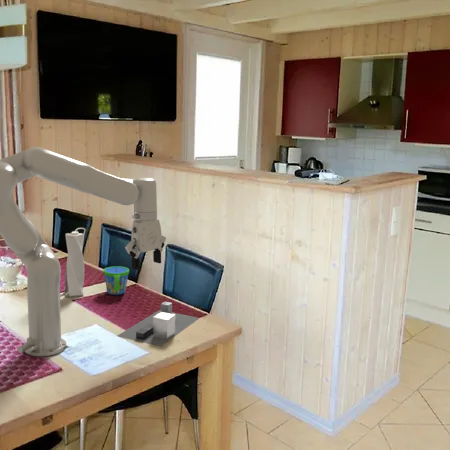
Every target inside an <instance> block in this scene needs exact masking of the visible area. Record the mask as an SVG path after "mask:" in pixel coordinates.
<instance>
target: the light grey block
mask: <svg viewBox="0 0 450 450" xmlns="http://www.w3.org/2000/svg"><path fill="white" fill-rule="evenodd" d="M174 334H175V315H174V314H170V313H165V312H160V313H159V314H157V315H156V316H154V317H153V337H157V338H161V339H165V340H168V339H169V338H170V337H172V336H173V335H174Z"/></svg>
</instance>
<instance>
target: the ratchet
mask: <svg viewBox="0 0 450 450" xmlns="http://www.w3.org/2000/svg"><path fill="white" fill-rule="evenodd" d="M160 310H161V312H165V313H170V314H174V315H175V323H176V314H175V313H176V312H173V302H169V301H164V302H162V303H160ZM172 312H173V313H172ZM158 314H159V313H158ZM151 334H153V323H150V324H148V325H146V326H145V327H143V328H142V329H140V330H139V331H137V332H136V338H137V339H141V340H144V339H145V338H147V337H148V336H150V335H151Z"/></svg>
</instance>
